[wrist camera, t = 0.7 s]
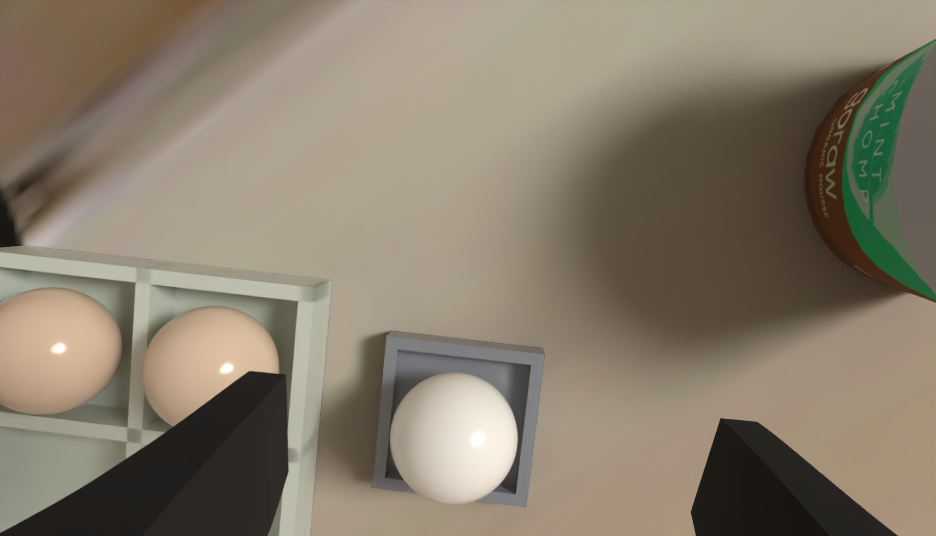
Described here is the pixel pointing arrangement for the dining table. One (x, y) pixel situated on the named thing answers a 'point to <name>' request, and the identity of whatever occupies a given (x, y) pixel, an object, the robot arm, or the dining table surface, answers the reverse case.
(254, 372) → the robot arm
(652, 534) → the dining table surface
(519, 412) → the dish
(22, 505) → the egg tray
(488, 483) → the white egg
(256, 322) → the brown egg
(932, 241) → the food container
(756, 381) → the dining table surface
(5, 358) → the brown egg
